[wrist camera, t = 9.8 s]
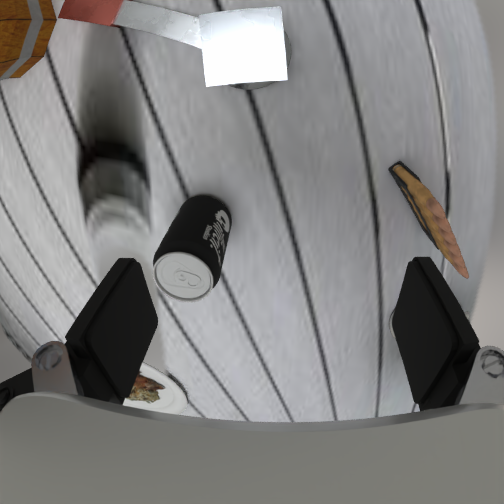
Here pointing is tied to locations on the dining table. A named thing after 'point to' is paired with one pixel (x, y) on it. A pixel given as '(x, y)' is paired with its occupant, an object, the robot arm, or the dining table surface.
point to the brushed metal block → (243, 46)
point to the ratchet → (148, 23)
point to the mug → (24, 34)
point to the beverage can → (193, 250)
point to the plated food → (156, 392)
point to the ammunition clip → (429, 215)
